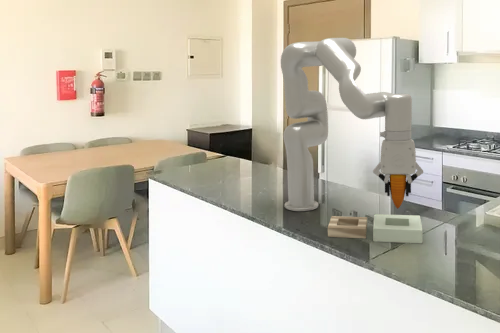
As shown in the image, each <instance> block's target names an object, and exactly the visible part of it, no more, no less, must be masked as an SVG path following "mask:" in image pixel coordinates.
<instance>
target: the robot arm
mask: <svg viewBox="0 0 500 333" xmlns="http://www.w3.org/2000/svg"><path fill="white" fill-rule="evenodd" d="M356 55H357V47H356V45H355V43H354V42H353V41H352V39H350V38H347V37H328V38H324V39H322V40H319V41H298V42H293V43H290V44H289V45H287V46H286V47H285V48H284V49H283V50H282V53H281V56H280V70H281V74H282V77H283V85H284V86H283V87H284V88H283V90H284V102H285V112H286V114H287V116H288V117H289V118H290V119H294V120H297V119H305V118H307V121H305V120H304V121H299V122H294V123H291V124H289V125H287V126H286V127H285V129H284V131H283V134H282V135H283V142H284V147H285V153H286V165H287V166H286V167H287V168H286V169H287V195H288V196H287V197H288V201H285V203H284V208H285V209H286V210H289V211H293V212H308V211H313V210H316V209H318V208H319V202H318V201H316V200H315V191H314V190H315V186H314V184H315V183H314V182H315V181H314V159H313V155H312V153H311V152H310V150H309V148H310V147H311V148H312V147H315V146H320V145H323V144H324V143H325V142H326V141H327V139H328V136H329V122H328V104H327V100H326V98H325V96H324V95H323V93H322V92H320V91H318V90H315V89H314V90H313V89H312V90H309V80H308V76H307V74H306V72H305V71H304V70H303V68H306V67H307V68H309V67H324V68H325V69H326V70H327V71H328V73H329V74H330V75H331V76H332V77H333V78H334V79H335V81H336V82H337V83H338V90H339V91H338V92H339V97H340V99H341V102H343V104H344V105H345V107H346V108H347V109H348V110H349V111H350V112H351V113H352V114H353V115H354V116H355V117H356V118H358V119H359V120H360V119H361V120H371V119H376V118H377V119H378V118H382V117H384V131H380V132H379V137H381V138H384V139H383V140H382V141H381V142H382V143H381V148H380V161H379V162H378V164H377V165H376V166H375V168H374V169H373V170H372V173H373V174H374V175H376V176H377V177H378V178H379V179H380V180H381V181H382V182H383V183H384V193H385V194H386V196H387V197H391V196H390V195H391V192H390V180H389V177H390V175H406V191H405V196H406V197H409V194H411V193H412V183H413V182H414V181H416V179H417V178H418V177H420V176H421V175H423V174H424V170H423V169H422V167H421V166H420V164H418V162H417V158H416V157H417V156H416V155H417V154H416V144H415V141H414V140H413V139H412V123H413V122H412V114H413V111H412V110H413V109H412V108H413V107H412V106H413V103H412V102H413V98H412V96H411V95H410V94H408V93H391V92H387V91H381V92H379V91H378V92H371V93H370V92H369V93H365V92H364V91H363V90H362V89H361V88H360V87H359V86H358V85H357V84H356V82H355V81H356V80H357V79H358V77H359V76H360V74H361V72H362V70H361V69H362V68H361V65H360V64H359V63H358V61H357V60H355V57H356Z"/></svg>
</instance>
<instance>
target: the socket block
mask: <svg viewBox="0 0 500 333" xmlns="http://www.w3.org/2000/svg"><path fill="white" fill-rule="evenodd" d="M367 230H368V217H366V216H339V215H334V216H333V215H331V217H330V220H329V222H328V226H327V237H329V238H347V239H348V238H351V239H367V232H368V231H367Z"/></svg>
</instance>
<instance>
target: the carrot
mask: <svg viewBox="0 0 500 333" xmlns="http://www.w3.org/2000/svg"><path fill="white" fill-rule="evenodd" d="M389 182H390V195H391V196H390V197H391V201H392V203H393V205H394V207H395V208H396V209H399V208H401V206H402V204H403V202H404V198H405V196H406V182H407V177H406V175H390V177H389Z"/></svg>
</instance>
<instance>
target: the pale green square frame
mask: <svg viewBox="0 0 500 333" xmlns="http://www.w3.org/2000/svg"><path fill="white" fill-rule="evenodd" d="M423 232H424V231H423V226H422V220H421V216H420V215H417V214H416V215H411V214H409V215H408V214H379V213H378V214H376V213H375V214H374V215H373V227H372V242H381V243H383V242H384V243H385V242H386V243H405V244H423V235H424V234H423Z"/></svg>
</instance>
